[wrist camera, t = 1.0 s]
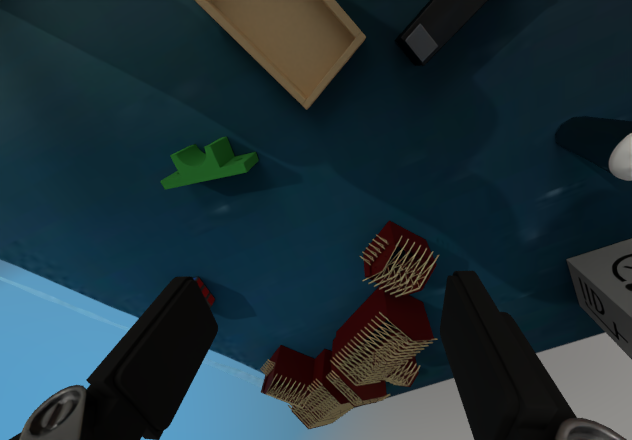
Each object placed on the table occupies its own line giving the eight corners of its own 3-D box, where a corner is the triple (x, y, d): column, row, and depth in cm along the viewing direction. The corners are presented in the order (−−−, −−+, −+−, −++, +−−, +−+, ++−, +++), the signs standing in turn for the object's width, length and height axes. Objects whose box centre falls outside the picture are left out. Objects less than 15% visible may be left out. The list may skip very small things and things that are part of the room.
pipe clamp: (248, 130, 32) (234, 139, 28) (259, 160, 33) (247, 172, 29) (170, 150, 34) (147, 160, 30) (184, 176, 36) (164, 190, 32)
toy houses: (340, 394, 60) (338, 449, 51) (258, 362, 57) (242, 414, 48) (495, 268, 37) (539, 329, 29) (375, 204, 34) (383, 250, 26)
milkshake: (549, 166, 30) (629, 206, 21) (546, 121, 27) (634, 145, 19) (597, 150, 28) (705, 185, 20) (599, 101, 26) (720, 117, 17)
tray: (192, -9, 25) (177, -17, 23) (237, -110, 22) (225, -129, 19) (309, 107, 29) (306, 110, 27) (365, 39, 26) (366, 37, 24)
